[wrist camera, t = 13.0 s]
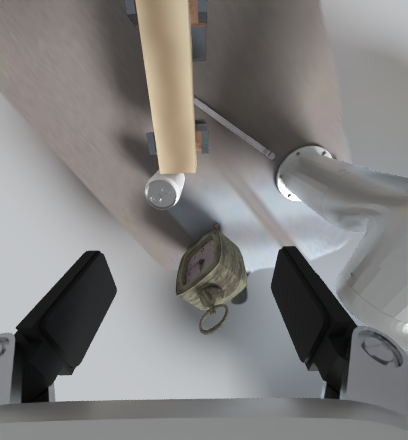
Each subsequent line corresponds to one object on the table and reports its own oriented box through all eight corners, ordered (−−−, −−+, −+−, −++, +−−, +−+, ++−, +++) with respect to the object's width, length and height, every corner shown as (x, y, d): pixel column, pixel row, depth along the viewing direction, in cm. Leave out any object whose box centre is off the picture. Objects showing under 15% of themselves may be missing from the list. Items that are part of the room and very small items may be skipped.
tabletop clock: (216, 216, 47) (229, 298, 25) (239, 235, 50) (268, 324, 28) (181, 248, 52) (166, 339, 30) (204, 264, 55) (204, 358, 33)
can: (151, 177, 42) (134, 194, 31) (170, 157, 40) (158, 169, 29) (172, 195, 44) (162, 218, 33) (190, 178, 42) (186, 196, 31)
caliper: (269, 152, 40) (280, 157, 34) (266, 157, 40) (276, 162, 34) (190, 94, 34) (187, 88, 29) (187, 100, 35) (184, 95, 29)
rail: (188, -40, 20) (182, -100, 14) (196, 164, 30) (195, 172, 25) (143, -38, 20) (121, -98, 14) (167, 165, 30) (160, 173, 25)
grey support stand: (204, 20, 29) (206, -46, 18) (206, 149, 39) (208, 160, 27) (150, 22, 29) (117, -43, 18) (166, 150, 39) (150, 161, 27)
